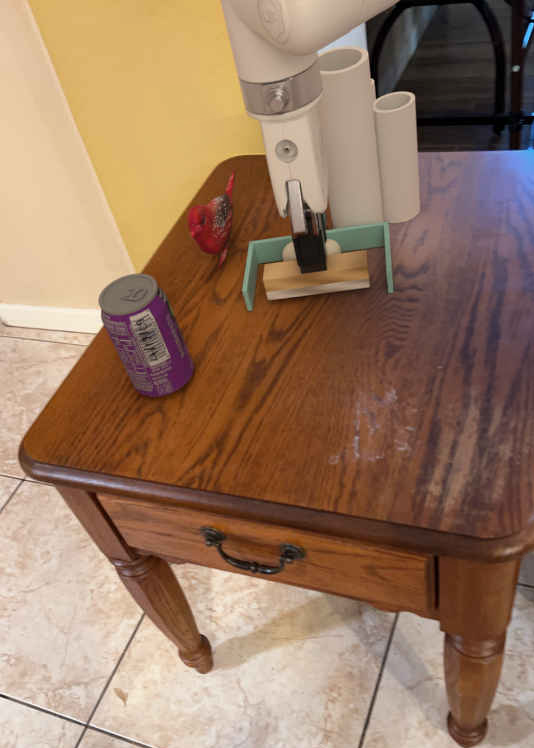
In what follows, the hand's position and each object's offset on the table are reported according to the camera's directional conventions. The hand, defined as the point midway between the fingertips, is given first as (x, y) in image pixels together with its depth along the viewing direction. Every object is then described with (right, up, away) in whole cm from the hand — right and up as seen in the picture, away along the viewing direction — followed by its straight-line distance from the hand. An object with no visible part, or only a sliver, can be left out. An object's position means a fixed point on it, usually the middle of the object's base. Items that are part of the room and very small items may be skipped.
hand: (312, 252), depth 79 cm
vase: (+9, +8, +11) cm, 16 cm away
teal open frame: (+2, +1, +7) cm, 8 cm away
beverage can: (-17, -14, 0) cm, 22 cm away
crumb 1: (-2, +2, +7) cm, 7 cm away
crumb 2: (+2, +2, +6) cm, 6 cm away
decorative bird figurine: (-10, +5, +14) cm, 18 cm away
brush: (+1, -3, +3) cm, 5 cm away
